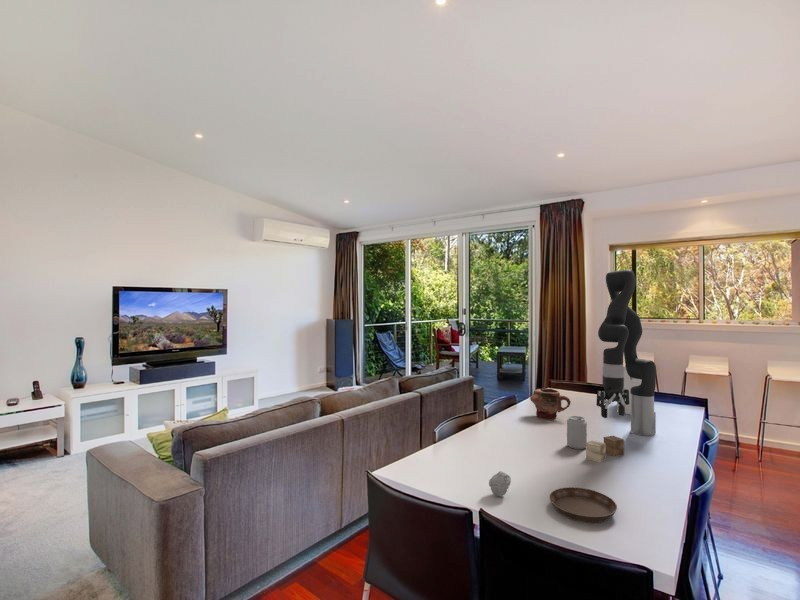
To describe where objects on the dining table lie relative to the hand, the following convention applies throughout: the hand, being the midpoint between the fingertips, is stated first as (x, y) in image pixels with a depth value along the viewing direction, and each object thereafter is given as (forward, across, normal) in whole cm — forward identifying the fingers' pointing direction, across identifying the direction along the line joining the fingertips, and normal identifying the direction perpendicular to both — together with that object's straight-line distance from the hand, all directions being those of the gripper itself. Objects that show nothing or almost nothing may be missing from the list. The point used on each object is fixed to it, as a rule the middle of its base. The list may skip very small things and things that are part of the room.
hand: (612, 416), depth 166 cm
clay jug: (+14, -11, -50) cm, 53 cm away
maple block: (+14, +11, +2) cm, 18 cm away
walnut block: (+14, 0, 0) cm, 14 cm away
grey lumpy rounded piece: (+15, +62, +16) cm, 65 cm away
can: (+15, +8, -11) cm, 20 cm away
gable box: (+14, -63, -47) cm, 80 cm away
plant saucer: (+15, +44, +31) cm, 57 cm away
